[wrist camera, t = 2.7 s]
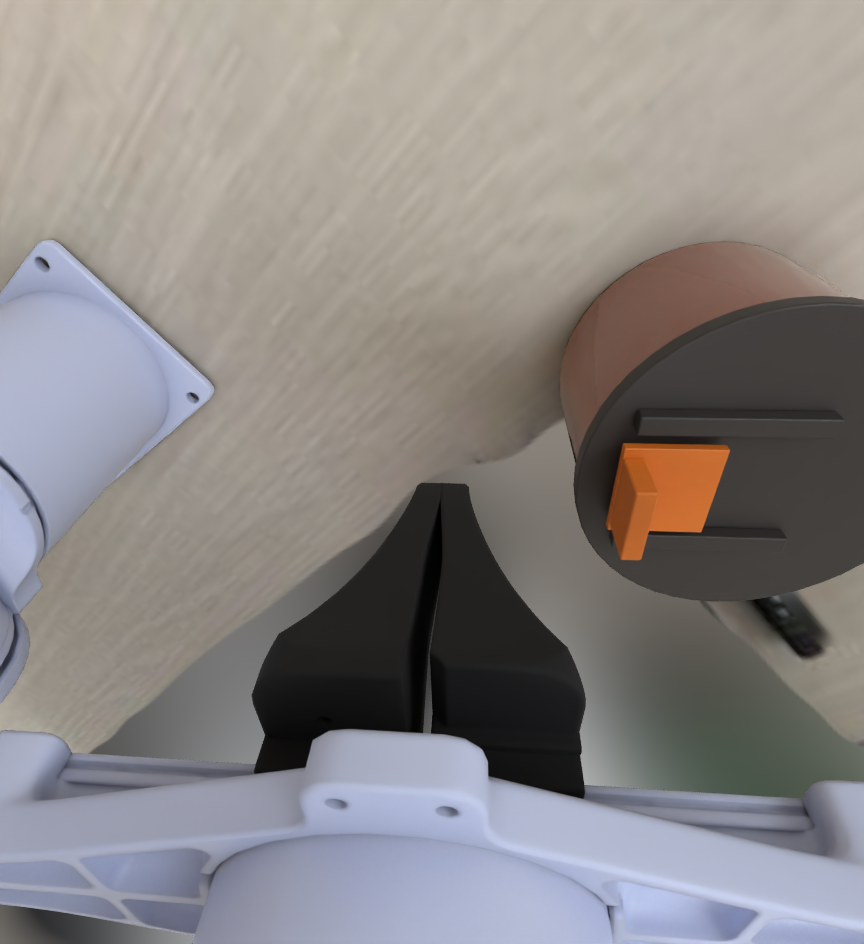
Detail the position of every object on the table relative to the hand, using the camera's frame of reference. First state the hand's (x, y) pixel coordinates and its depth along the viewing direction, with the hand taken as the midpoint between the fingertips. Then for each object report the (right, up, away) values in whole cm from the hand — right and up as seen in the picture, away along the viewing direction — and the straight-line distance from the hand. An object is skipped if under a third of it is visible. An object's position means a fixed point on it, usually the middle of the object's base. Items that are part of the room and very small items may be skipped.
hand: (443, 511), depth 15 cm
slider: (+6, +1, +1) cm, 6 cm away
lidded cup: (+10, +5, +7) cm, 13 cm away
